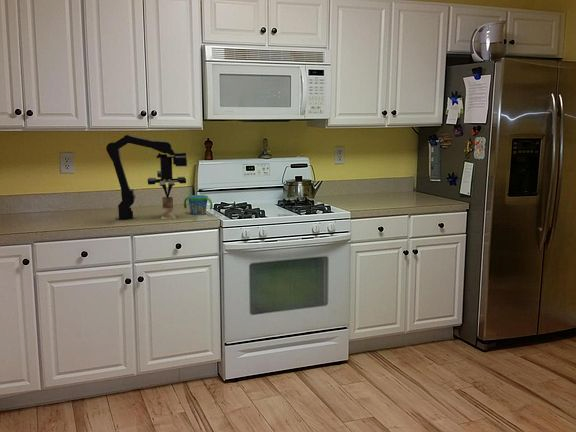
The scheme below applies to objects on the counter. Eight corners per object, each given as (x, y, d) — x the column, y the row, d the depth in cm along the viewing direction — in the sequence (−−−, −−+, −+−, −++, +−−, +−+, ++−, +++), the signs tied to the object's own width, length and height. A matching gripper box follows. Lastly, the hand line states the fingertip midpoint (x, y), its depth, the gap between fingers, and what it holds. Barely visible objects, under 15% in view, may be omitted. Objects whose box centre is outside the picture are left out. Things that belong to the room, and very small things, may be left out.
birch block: (163, 218, 306) (163, 208, 305) (162, 216, 310) (162, 206, 309) (173, 217, 307) (173, 208, 306) (172, 216, 312) (172, 206, 311)
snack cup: (216, 214, 322) (215, 195, 320) (206, 218, 313) (205, 198, 311) (190, 212, 328) (190, 194, 326) (180, 216, 319) (179, 196, 317)
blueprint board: (150, 221, 302) (150, 219, 302) (149, 215, 321) (149, 213, 321) (183, 220, 306) (183, 218, 306) (179, 213, 325) (179, 211, 325)
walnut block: (163, 208, 305) (162, 198, 304) (162, 206, 310) (162, 197, 309) (173, 208, 306) (172, 198, 305) (172, 206, 311) (172, 196, 310)
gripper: (183, 164, 314) (184, 194, 317) (146, 165, 310) (148, 196, 312) (185, 166, 304) (186, 197, 306) (147, 167, 299) (148, 199, 302)
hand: (167, 197), depth 307 cm, fingers closed, pressing on walnut block
